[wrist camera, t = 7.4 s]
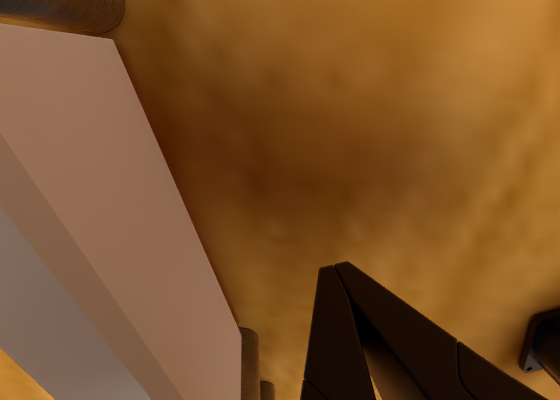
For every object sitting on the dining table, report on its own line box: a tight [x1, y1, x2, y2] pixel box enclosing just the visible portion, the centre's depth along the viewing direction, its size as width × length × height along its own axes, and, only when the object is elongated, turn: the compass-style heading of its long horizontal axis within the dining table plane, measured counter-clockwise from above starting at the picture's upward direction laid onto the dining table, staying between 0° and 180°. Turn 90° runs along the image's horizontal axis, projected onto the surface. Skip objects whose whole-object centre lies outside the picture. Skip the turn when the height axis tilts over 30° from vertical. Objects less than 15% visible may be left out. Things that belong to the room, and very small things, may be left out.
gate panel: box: [0, 23, 241, 400], centre depth 10 cm, size 16×3×8 cm, turn 13°
